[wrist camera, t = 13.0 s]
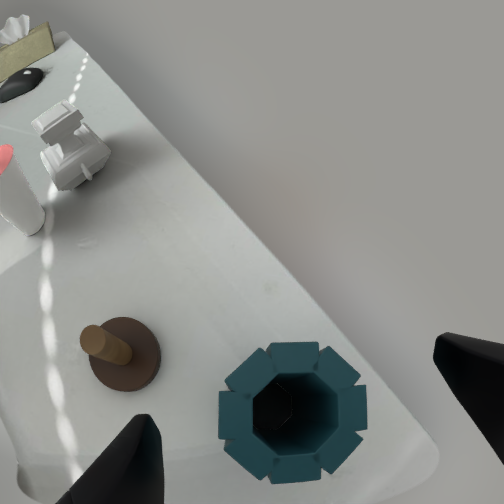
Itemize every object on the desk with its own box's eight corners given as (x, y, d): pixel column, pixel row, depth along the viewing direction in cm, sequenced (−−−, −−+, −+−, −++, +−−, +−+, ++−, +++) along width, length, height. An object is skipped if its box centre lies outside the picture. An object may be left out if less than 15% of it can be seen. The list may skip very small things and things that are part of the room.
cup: (35, 250, 23) (-35, 172, 13) (7, 236, 24) (-54, 165, 13) (61, 207, 26) (8, 120, 15) (32, 197, 26) (-17, 119, 15)
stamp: (123, 173, 28) (100, 109, 20) (72, 211, 25) (35, 153, 18) (90, 138, 30) (70, 84, 23) (47, 170, 28) (18, 118, 21)
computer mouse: (5, 90, 39) (-1, 77, 36) (46, 72, 41) (41, 58, 38) (-8, 109, 36) (-15, 95, 32) (34, 90, 38) (28, 74, 34)
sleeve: (309, 442, 18) (367, 471, 9) (224, 445, 17) (218, 484, 9) (308, 365, 21) (363, 339, 12) (225, 366, 20) (219, 341, 11)
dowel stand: (169, 383, 19) (146, 377, 14) (102, 397, 18) (62, 393, 13) (151, 312, 22) (127, 283, 16) (88, 328, 21) (50, 304, 15)
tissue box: (-7, 87, 41) (-25, 40, 27) (-3, 76, 45) (-19, 33, 31) (56, 50, 47) (43, 0, 33) (54, 43, 51) (43, -2, 37)
